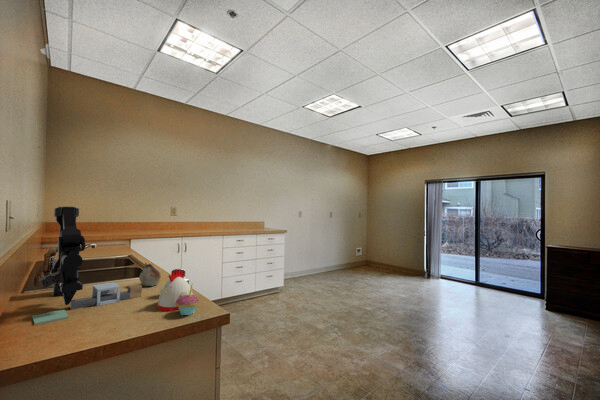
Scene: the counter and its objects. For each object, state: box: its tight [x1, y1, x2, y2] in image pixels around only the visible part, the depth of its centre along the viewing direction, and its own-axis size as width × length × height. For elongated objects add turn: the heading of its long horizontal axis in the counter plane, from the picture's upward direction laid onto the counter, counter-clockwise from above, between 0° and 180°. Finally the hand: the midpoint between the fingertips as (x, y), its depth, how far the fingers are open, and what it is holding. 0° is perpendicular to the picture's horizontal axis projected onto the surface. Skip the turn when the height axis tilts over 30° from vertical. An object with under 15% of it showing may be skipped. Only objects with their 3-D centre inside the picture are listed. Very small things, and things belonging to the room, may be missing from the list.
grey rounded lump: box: [138, 262, 162, 287], centre depth 145 cm, size 10×9×12 cm
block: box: [127, 283, 143, 300], centre depth 127 cm, size 4×4×5 cm
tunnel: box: [91, 282, 121, 307], centre depth 119 cm, size 8×8×7 cm
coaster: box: [31, 309, 70, 326], centre depth 101 cm, size 9×9×1 cm
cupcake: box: [175, 283, 200, 316], centre depth 109 cm, size 9×8×12 cm
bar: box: [69, 290, 131, 311], centre depth 117 cm, size 3×20×3 cm, turn 135°
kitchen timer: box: [156, 268, 194, 312], centre depth 118 cm, size 14×14×15 cm
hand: (66, 304), depth 110 cm, fingers closed
